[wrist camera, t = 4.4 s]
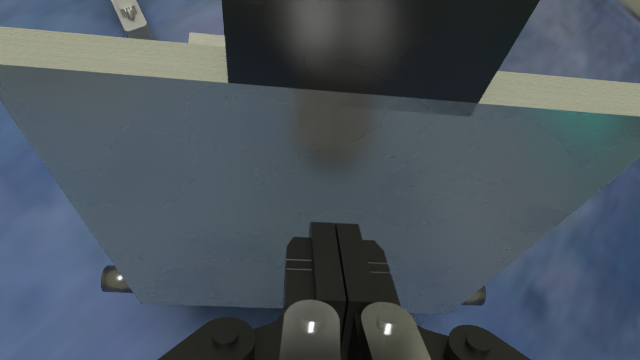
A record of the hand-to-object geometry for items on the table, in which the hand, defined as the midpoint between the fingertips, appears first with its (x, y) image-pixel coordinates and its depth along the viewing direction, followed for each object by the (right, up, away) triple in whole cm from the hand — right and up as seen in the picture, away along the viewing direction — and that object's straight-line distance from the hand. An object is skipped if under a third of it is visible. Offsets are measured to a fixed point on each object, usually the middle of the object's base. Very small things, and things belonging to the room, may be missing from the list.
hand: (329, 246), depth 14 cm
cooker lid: (0, +2, +3) cm, 3 cm away
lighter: (-17, +15, +26) cm, 34 cm away
